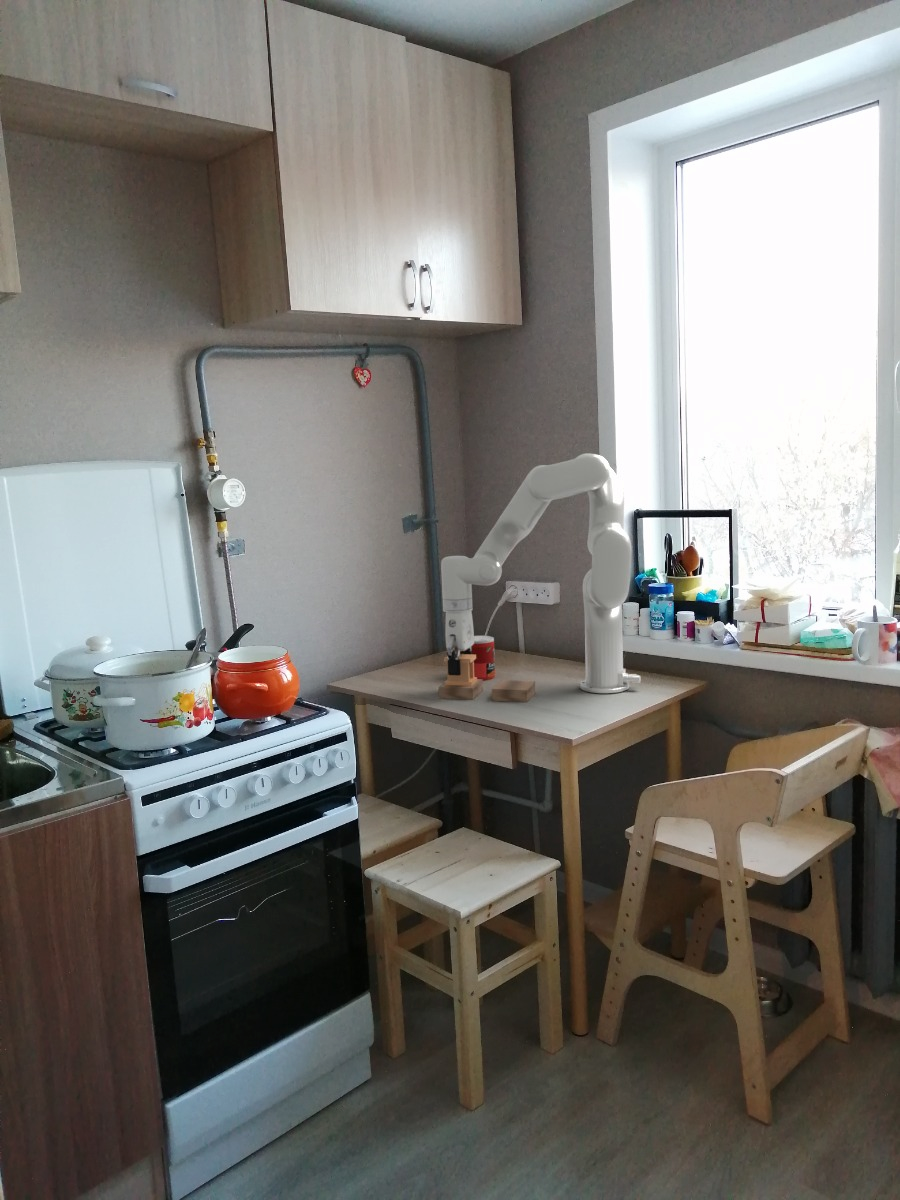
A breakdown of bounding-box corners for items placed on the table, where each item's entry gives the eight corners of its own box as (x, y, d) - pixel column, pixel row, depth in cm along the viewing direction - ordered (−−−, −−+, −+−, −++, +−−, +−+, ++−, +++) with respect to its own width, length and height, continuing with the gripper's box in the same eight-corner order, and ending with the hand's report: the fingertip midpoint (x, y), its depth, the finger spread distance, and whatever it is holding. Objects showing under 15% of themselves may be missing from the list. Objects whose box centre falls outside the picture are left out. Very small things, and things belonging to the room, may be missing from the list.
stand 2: (535, 692, 243) (535, 681, 242) (527, 702, 235) (526, 690, 234) (501, 691, 246) (501, 680, 245) (492, 700, 237) (491, 688, 237)
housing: (477, 681, 245) (476, 654, 244) (471, 685, 241) (470, 658, 240) (451, 680, 247) (450, 653, 246) (445, 684, 243) (444, 658, 242)
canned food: (493, 681, 257) (491, 641, 255) (464, 680, 258) (462, 641, 257) (497, 674, 264) (496, 635, 262) (469, 673, 266) (467, 635, 264)
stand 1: (483, 690, 247) (482, 679, 247) (473, 699, 239) (472, 688, 238) (450, 689, 250) (449, 678, 250) (439, 698, 242) (438, 686, 241)
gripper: (461, 611, 231) (464, 679, 234) (481, 599, 248) (483, 663, 250) (432, 610, 234) (435, 678, 237) (453, 599, 250) (456, 662, 253)
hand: (460, 670), depth 244 cm, fingers open, 9 cm apart
